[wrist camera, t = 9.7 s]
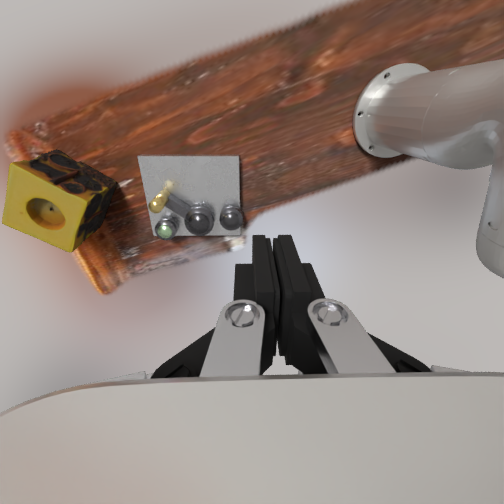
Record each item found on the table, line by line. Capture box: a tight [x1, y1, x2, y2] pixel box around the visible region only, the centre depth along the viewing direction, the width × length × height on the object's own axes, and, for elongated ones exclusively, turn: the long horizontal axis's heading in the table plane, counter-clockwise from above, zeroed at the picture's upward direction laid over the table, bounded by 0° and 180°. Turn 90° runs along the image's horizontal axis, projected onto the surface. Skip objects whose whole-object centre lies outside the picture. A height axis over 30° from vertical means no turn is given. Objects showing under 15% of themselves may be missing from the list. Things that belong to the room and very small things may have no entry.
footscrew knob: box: [148, 190, 215, 236], centre depth 43 cm, size 10×5×6 cm, turn 53°
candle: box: [2, 149, 117, 252], centre depth 40 cm, size 10×10×10 cm
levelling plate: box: [138, 155, 243, 240], centre depth 44 cm, size 16×14×4 cm
